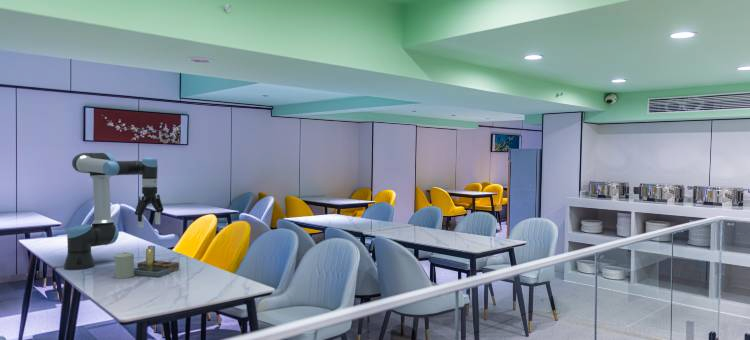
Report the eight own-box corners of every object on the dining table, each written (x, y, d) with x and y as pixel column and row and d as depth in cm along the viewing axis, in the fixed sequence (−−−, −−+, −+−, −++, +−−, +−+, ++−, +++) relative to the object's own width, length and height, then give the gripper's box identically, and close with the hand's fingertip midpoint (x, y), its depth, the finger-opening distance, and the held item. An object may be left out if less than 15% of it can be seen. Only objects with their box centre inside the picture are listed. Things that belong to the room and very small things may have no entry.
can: (135, 273, 283) (134, 251, 282) (133, 277, 275) (132, 255, 274) (116, 274, 281) (115, 252, 280) (114, 279, 272) (113, 256, 271)
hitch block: (137, 270, 292) (137, 263, 291) (148, 267, 300) (148, 260, 300) (168, 273, 287) (168, 265, 287) (178, 269, 295) (178, 262, 295)
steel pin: (146, 269, 293) (146, 246, 293) (150, 268, 297) (150, 245, 296) (152, 270, 292) (152, 247, 292) (156, 268, 296) (156, 246, 295)
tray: (129, 274, 281) (129, 270, 281) (140, 271, 290) (140, 266, 290) (158, 277, 277) (158, 272, 277) (169, 273, 285) (169, 269, 285)
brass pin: (144, 273, 282) (144, 249, 282) (148, 272, 286) (149, 248, 285) (150, 274, 281) (150, 249, 281) (154, 272, 285) (154, 248, 284)
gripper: (139, 188, 269) (139, 229, 269) (170, 185, 293) (170, 223, 294) (127, 187, 271) (127, 228, 271) (158, 184, 295) (158, 222, 296)
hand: (149, 225), depth 283 cm, fingers open, 13 cm apart
